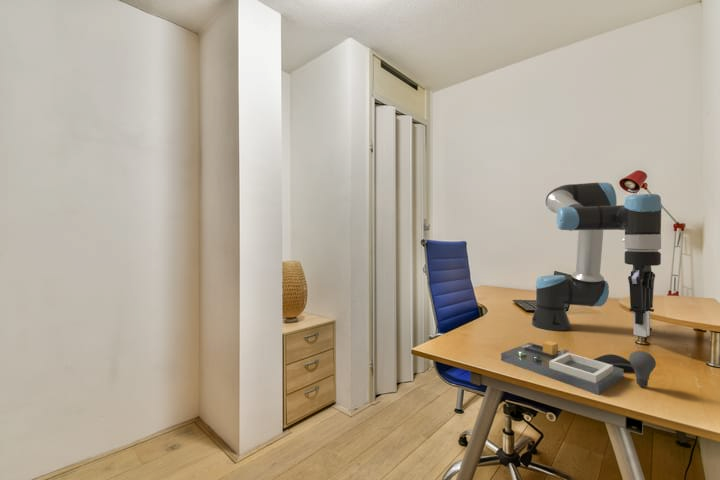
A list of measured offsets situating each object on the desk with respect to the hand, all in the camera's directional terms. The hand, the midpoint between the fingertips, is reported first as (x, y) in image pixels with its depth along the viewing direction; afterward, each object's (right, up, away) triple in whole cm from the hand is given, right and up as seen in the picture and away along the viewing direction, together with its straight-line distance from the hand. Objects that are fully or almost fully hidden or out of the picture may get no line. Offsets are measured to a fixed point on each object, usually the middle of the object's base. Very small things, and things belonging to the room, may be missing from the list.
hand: (641, 334), depth 88 cm
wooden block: (-14, -12, +18) cm, 26 cm away
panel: (-15, -15, +13) cm, 25 cm away
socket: (-13, -12, +6) cm, 19 cm away
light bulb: (0, -15, 0) cm, 15 cm away
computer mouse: (+2, -15, +13) cm, 20 cm away
